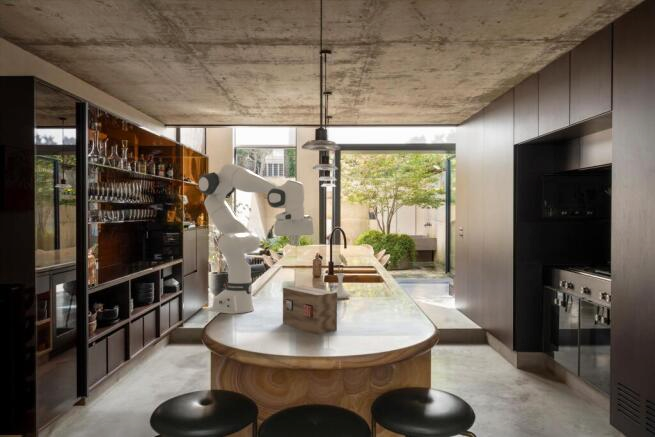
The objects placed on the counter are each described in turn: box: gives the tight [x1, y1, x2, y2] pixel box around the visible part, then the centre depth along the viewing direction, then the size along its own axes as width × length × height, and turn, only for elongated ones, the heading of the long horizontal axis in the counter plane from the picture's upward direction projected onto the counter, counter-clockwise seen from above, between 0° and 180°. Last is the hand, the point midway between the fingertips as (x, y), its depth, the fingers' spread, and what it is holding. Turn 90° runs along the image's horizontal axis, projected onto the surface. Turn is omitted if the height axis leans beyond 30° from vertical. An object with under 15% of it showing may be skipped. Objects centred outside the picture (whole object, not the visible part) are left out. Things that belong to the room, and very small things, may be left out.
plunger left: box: [286, 300, 293, 311], centre depth 223 cm, size 8×4×4 cm, turn 130°
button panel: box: [282, 285, 338, 335], centre depth 219 cm, size 11×24×16 cm, turn 40°
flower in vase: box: [332, 253, 351, 300], centre depth 289 cm, size 13×11×25 cm
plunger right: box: [304, 305, 313, 317], centre depth 212 cm, size 8×4×4 cm, turn 130°
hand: (294, 245), depth 234 cm, fingers closed
